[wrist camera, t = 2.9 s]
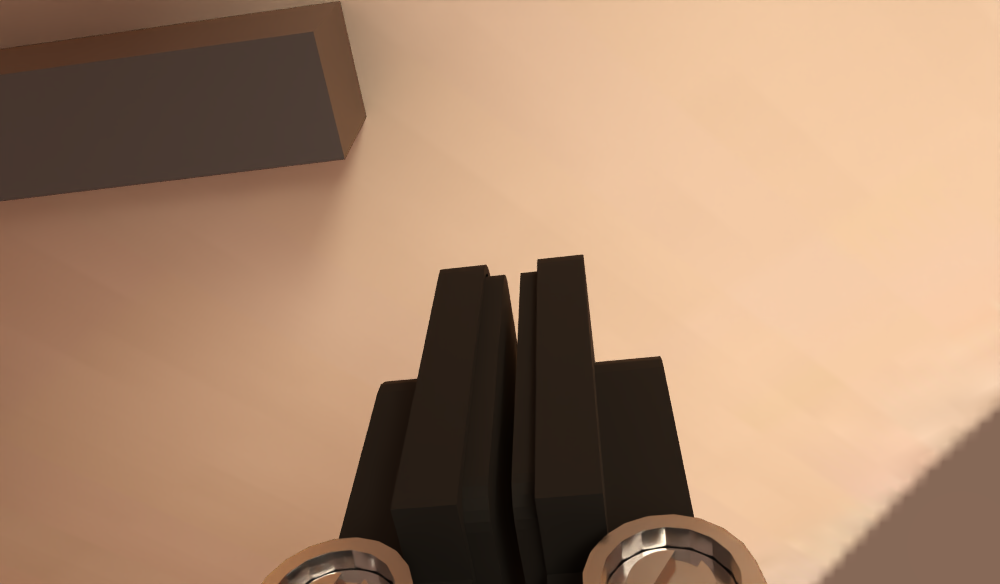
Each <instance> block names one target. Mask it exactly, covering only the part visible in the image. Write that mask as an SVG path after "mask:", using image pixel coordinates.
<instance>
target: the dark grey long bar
mask: <svg viewBox="0 0 1000 584" xmlns="http://www.w3.org/2000/svg"><path fill="white" fill-rule="evenodd" d="M365 118H366V113H365V109H364V104H363V100H362V95H361V91H360V87H359V82H358V78H357V74H356V69H355V65H354V60H353V56H352V52H351V47H350V43H349V39H348V34H347V30H346V25H345V21H344V17H343V12H342V8H341V3H340V1H337V2H330V3H323V4H316V5H309V6H301V7H294V8H287V9H280V10H273V11H266V12H259V13H252V14H245V15H238V16H231V17H224V18H217V19H210V20H203V21H196V22H188V23H181V24H174V25H167V26H160V27H153V28H146V29H139V30H132V31H125V32H118V33H111V34H104V35H97V36H90V37H83V38H75V39H68V40H61V41H54V42H47V43H40V44H33V45H26V46H19V47H12V48H5V49H0V201H6V200H15V199H23V198H31V197H39V196H47V195H56V194H64V193H72V192H80V191H88V190H97V189H105V188H113V187H121V186H129V185H138V184H146V183H154V182H162V181H171V180H179V179H187V178H195V177H203V176H212V175H220V174H228V173H236V172H244V171H253V170H261V169H269V168H277V167H285V166H294V165H302V164H310V163H318V162H326V161H335V160H343V159H345V158H346V156H347V154H348V152H349V150H350V148H351V146H352V144H353V142H354V140H355V138H356V136H357V134H358V132H359V130H360V128H361V126H362V124H363V122H364V120H365Z"/></svg>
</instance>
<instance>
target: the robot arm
mask: <svg viewBox="0 0 1000 584" xmlns="http://www.w3.org/2000/svg"><path fill="white" fill-rule="evenodd" d="M262 584H767V582H766V580H765V578H764V576H763V574H762V572H761V570H760V568H759V565H758V563H757V562H756V560H755V559H754V557H753V556H752V555H751V553H750V552H749V550H748V549H747V548H746V546H745V545H744V543H742V542H741V541H740V540H739V539H737V538H736V537H735V536H733V535H732V534H731V533H729V532H728V531H727V530H725V529H724V528H722V527H720V526H717V525H715V524H712V523H710V522H707V521H705V520H703V519H700V518H694V514H693V510H692V505H691V500H690V495H689V490H688V485H687V480H686V475H685V470H684V465H683V460H682V455H681V450H680V446H679V441H678V436H677V431H676V426H675V421H674V416H673V411H672V406H671V401H670V396H669V391H668V386H667V382H666V377H665V372H664V367H663V363H662V359H661V357H660V356H658V357H647V358H636V359H626V360H615V361H604V362H595V358H594V348H593V339H592V330H591V321H590V311H589V302H588V293H587V284H586V274H585V265H584V257H583V255H574V256H565V257H555V258H546V259H538V260H537V272H527V273H521V276H520V298H519V320H518V343H517V339H516V332H515V326H514V320H513V314H512V307H511V301H510V295H509V289H508V283H507V279H506V276H505V275H499V276H490V274H489V270H488V267H487V265H480V266H470V267H461V268H451V269H442V270H440V273H439V277H438V281H437V286H436V291H435V296H434V301H433V306H432V310H431V315H430V320H429V325H428V330H427V335H426V339H425V344H424V349H423V354H422V359H421V364H420V369H419V373H418V378H417V379H410V380H399V381H388V382H384V383H383V384H381V386H380V388H379V391H378V393H377V397H376V401H375V405H374V408H373V412H372V416H371V420H370V423H369V427H368V431H367V435H366V438H365V442H364V446H363V450H362V453H361V457H360V461H359V465H358V468H357V472H356V476H355V480H354V483H353V487H352V491H351V495H350V498H349V502H348V506H347V510H346V513H345V517H344V521H343V525H342V529H341V532H340V536H339V539H332V540H329V541H326V542H323V543H320V544H316V545H313V546H310V547H308V548H306V549H304V550H302V551H300V552H299V553H297V554H295V555H293V556H291V557H290V558H288V559H286V560H285V561H284V562H283V563H281V564H280V565H279V566H278V567H277V568H276V569H275V570H273V571H272V572H271V573H270V574H269V575H268V576H267V577H266V578H265V579H264V581H263V582H262Z"/></svg>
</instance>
